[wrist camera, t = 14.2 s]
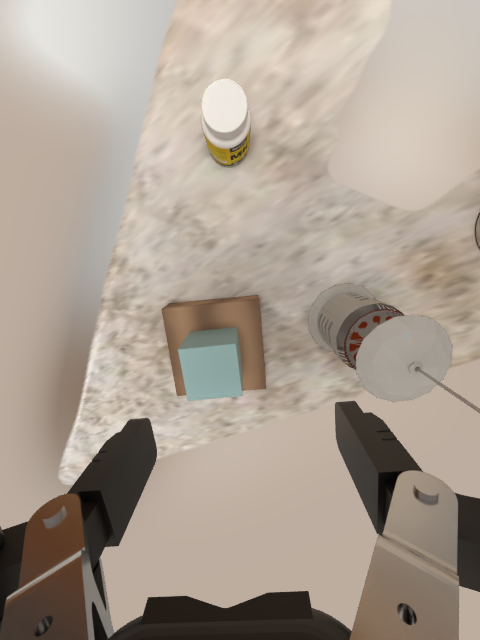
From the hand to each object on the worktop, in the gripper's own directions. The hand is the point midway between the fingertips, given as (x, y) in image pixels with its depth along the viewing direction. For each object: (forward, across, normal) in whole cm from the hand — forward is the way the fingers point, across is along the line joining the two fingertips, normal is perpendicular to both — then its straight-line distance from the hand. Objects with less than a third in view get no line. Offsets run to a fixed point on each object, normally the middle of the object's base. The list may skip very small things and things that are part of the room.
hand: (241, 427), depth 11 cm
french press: (+25, -14, +4) cm, 29 cm away
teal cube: (+21, +4, +5) cm, 22 cm away
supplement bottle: (+25, 0, -19) cm, 32 cm away
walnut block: (+25, +4, +4) cm, 26 cm away
